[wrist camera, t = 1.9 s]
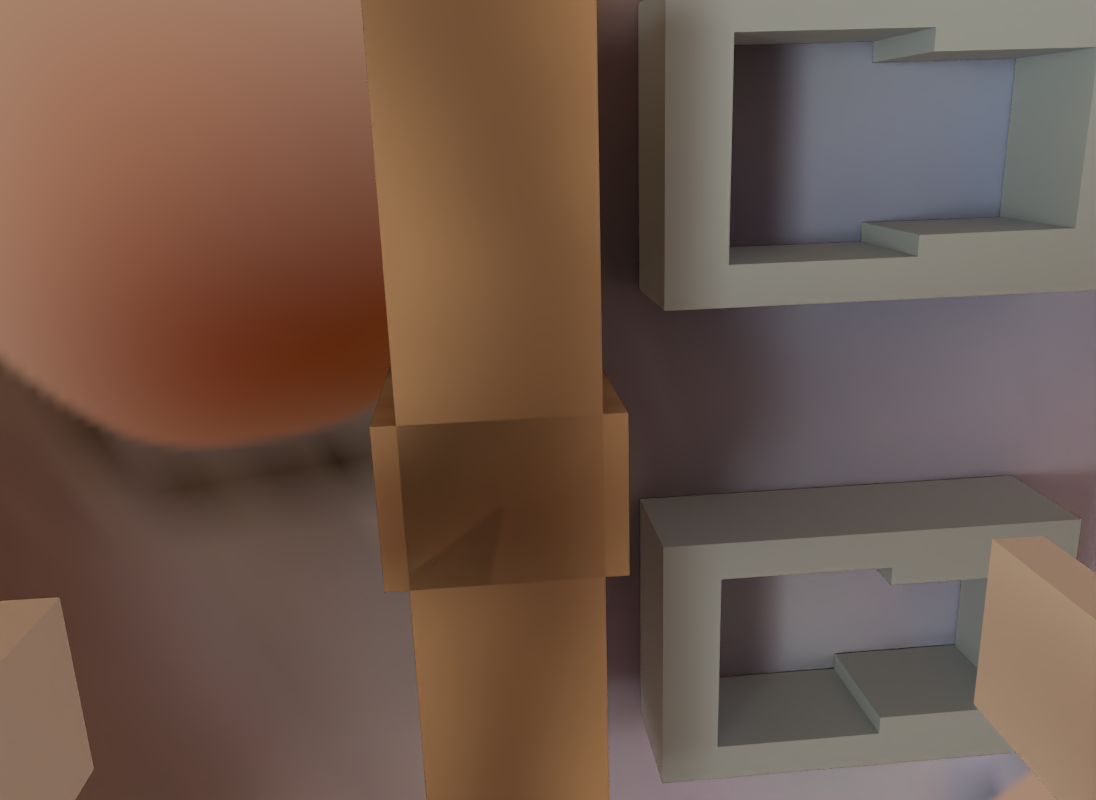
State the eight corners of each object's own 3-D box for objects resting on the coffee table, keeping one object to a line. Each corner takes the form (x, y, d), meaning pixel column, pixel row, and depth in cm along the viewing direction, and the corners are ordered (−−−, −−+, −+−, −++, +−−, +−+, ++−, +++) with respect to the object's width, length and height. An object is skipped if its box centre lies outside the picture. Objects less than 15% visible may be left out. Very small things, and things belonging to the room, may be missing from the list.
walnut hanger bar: (425, 714, 27) (412, 901, 21) (371, 32, 22) (329, -13, 15) (591, 701, 28) (631, 881, 21) (577, 27, 22) (625, -19, 16)
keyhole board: (641, 712, 28) (662, 783, 25) (638, 3, 22) (665, -18, 19) (987, 684, 29) (1049, 749, 26) (1067, -6, 23) (1159, -28, 20)
